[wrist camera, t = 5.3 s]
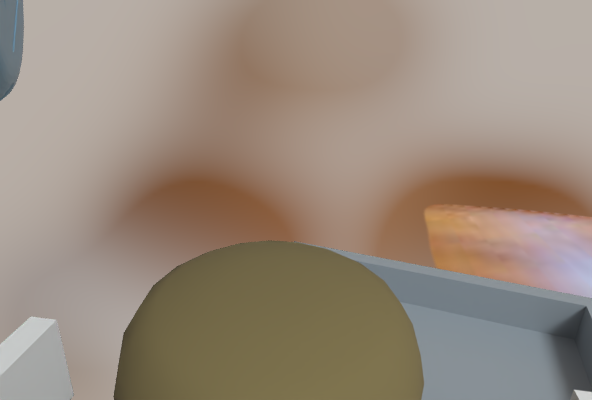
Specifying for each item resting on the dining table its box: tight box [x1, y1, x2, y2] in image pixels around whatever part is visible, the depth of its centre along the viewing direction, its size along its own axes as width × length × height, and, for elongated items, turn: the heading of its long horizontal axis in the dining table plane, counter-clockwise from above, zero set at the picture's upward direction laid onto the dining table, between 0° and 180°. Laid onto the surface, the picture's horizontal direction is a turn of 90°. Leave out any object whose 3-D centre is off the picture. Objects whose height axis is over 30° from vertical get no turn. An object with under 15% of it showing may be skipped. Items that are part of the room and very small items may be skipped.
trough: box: [294, 241, 592, 400], centre depth 19 cm, size 16×11×3 cm
